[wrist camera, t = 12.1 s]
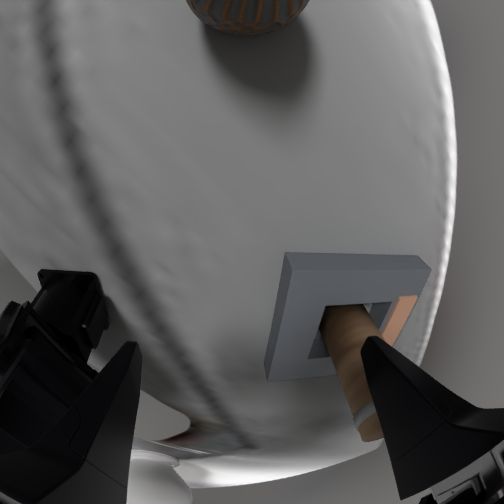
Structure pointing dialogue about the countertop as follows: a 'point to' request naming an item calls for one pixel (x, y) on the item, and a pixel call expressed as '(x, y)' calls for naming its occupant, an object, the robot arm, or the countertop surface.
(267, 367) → the socket block
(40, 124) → the countertop surface
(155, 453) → the decorative vase
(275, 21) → the vase
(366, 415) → the walnut peg
